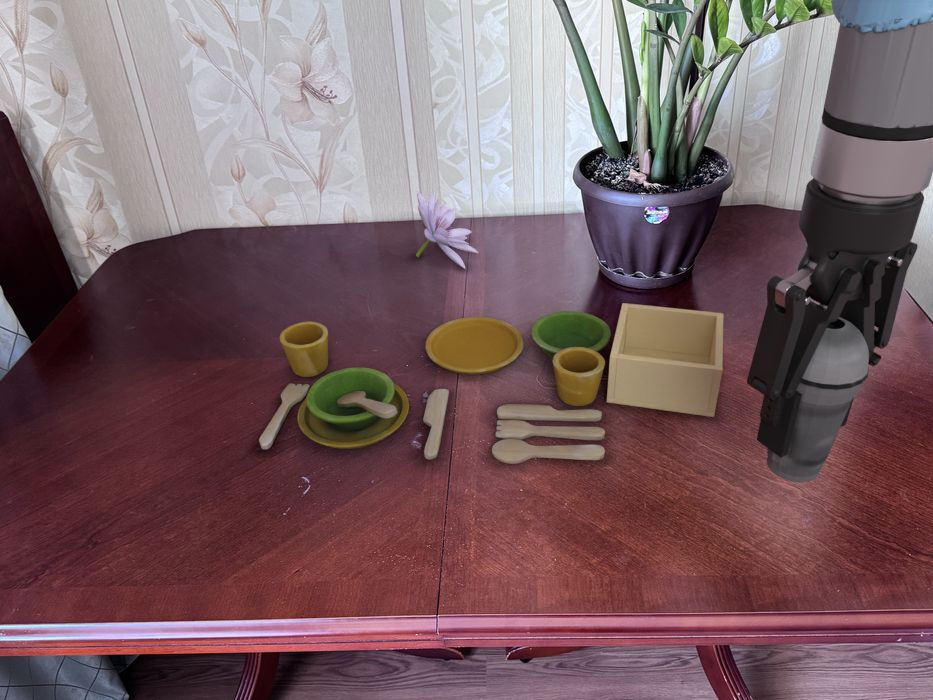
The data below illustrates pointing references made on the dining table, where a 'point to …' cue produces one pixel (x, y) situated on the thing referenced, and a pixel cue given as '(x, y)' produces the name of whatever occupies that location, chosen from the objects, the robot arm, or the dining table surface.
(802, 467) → the beverage cup
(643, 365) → the box
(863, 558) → the dining table surface
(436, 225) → the water lily
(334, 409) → the tableware set
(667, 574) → the dining table surface
